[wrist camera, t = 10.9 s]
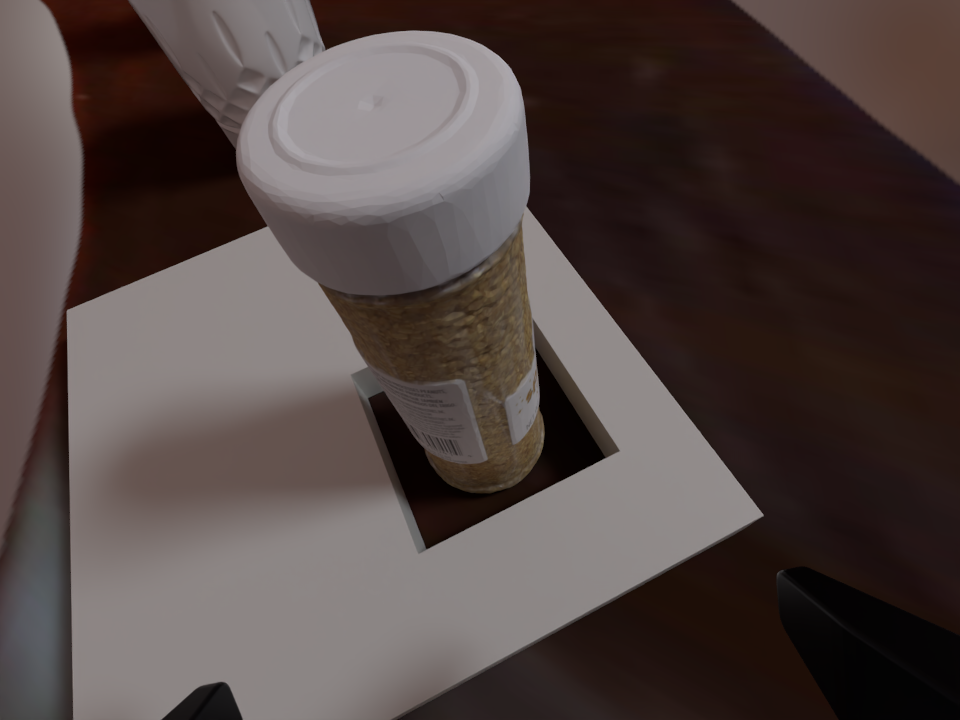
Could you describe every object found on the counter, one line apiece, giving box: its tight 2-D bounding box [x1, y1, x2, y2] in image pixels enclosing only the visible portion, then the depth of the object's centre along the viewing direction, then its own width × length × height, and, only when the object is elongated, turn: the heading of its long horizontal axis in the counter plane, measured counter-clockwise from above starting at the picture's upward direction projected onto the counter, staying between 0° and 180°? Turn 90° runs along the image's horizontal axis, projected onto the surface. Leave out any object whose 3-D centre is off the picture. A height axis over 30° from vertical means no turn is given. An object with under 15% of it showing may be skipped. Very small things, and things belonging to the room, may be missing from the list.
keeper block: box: [67, 207, 764, 720], centre depth 19 cm, size 20×20×2 cm
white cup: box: [128, 0, 326, 149], centre depth 26 cm, size 8×8×10 cm
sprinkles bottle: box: [236, 31, 545, 493], centre depth 13 cm, size 5×5×14 cm
